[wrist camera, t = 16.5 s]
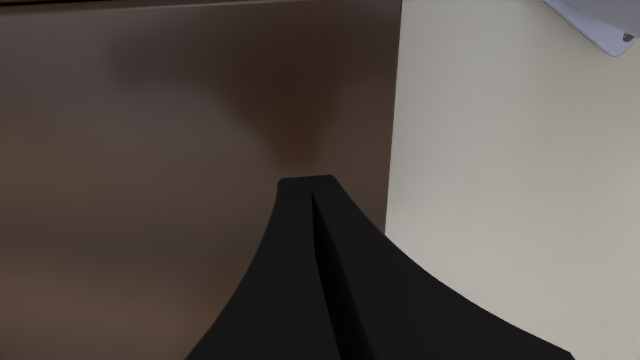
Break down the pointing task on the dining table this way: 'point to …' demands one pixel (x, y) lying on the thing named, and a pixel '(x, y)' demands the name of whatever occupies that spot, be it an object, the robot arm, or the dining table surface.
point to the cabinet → (171, 156)
